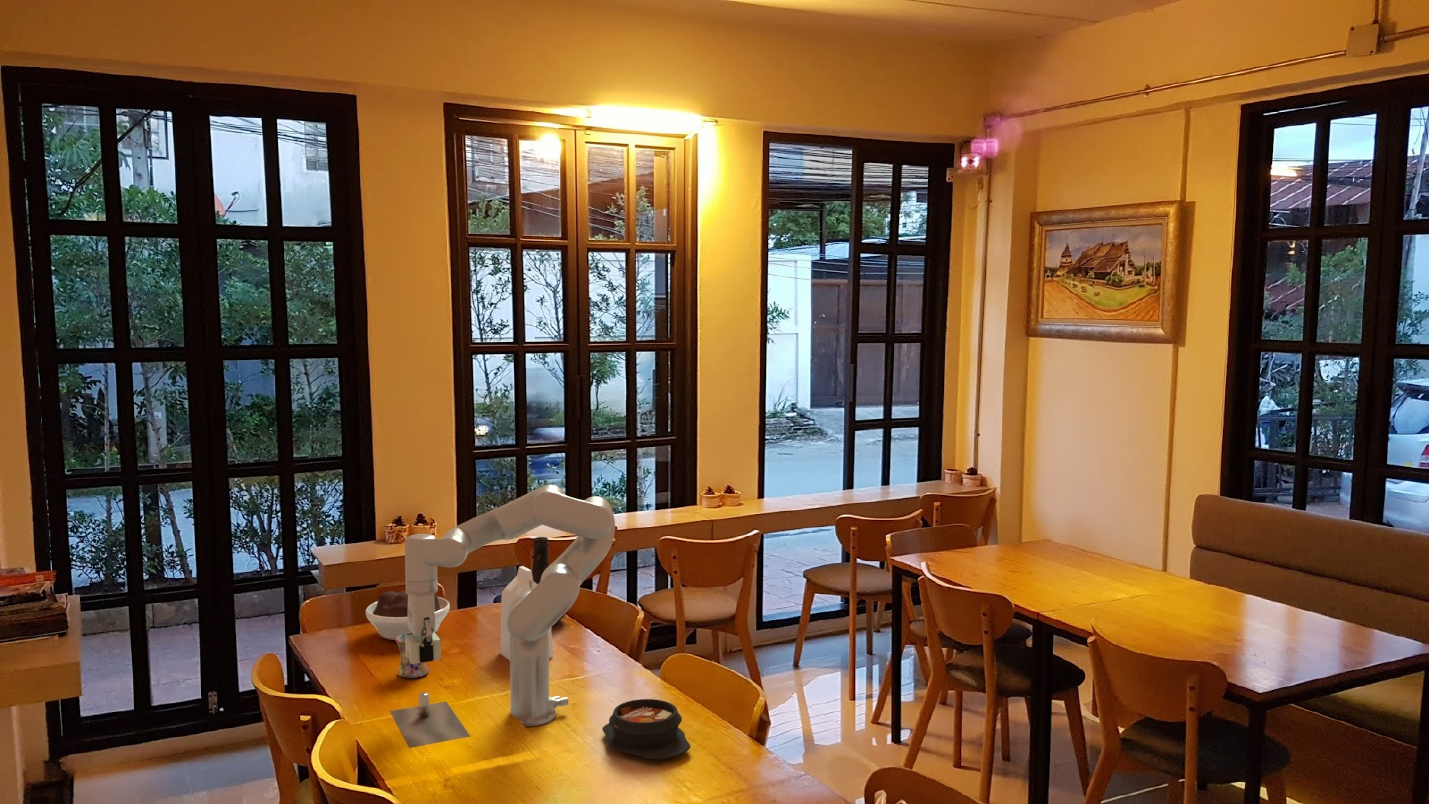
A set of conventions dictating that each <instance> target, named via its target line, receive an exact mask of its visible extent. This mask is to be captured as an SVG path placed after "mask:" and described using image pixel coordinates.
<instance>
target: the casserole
mask: <svg viewBox="0 0 1429 804" xmlns="http://www.w3.org/2000/svg"><path fill="white" fill-rule="evenodd" d="M682 720H683V718H682V715H681V714H680V713H679V711H678V707H676V706H675V704H673V703H672V702H668V701H666V700H661V699H654V698H653V699H652V698H643V699H642V698H640V699H633V700H629V701H625V702H622V703H620V704H618V705H617V706H615V708H614V709H613V712H612V714H611V715H610V717H609V719H608V723H606V724H605V725H604V726H603V727H602V728H601V730H602V732H603V733H604V736H605V742H606V744H607V745H608V746H609V747H610V748H612V749H613V750H616V751H617V752H621V753H623V754H624V753H625V754H629V755H634V756H638V757H641V758H644V759H647V760H653V761H654V760H665V759H669V758H673V757H674V758H675V757H677V756H680V755H682V754H684V753H686V752H687V751H689V750H690V749H691V744H690V743H689V741H688V740H687V738H686V734H685V732H684V731H683V730H682V728H679V726H680V724H681V723H682Z"/></svg>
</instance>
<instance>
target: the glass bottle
mask: <svg viewBox="0 0 1429 804" xmlns="http://www.w3.org/2000/svg"><path fill="white" fill-rule="evenodd" d="M548 540H549V538H548V537H546V536H538V537H534V538H533V542H532V543H531V544H530V545H531V546H533V557H532V568H531V571H532V577H533V581H534V582H535V583H536V584H539V583H540V581H541V576H542V574H543V572H544V571H545V569H546V568H547V567H549V566H550V564H549V552H548V550H549V548H548V547H549V546H550V542H549V541H548ZM568 611H569V609H568V610H567V612H568ZM567 612H566V613H565V614H564V615H563V616H562V617H561V618H560V619H559V620H558V621H557V622H556V623H555V624H557V623H559V622H561V620H562V619H564V617H565V615H566V614H567Z"/></svg>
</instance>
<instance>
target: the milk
mask: <svg viewBox="0 0 1429 804" xmlns="http://www.w3.org/2000/svg"><path fill="white" fill-rule="evenodd" d="M537 585H538V584H536V583H535V582H534V581H533V577H532V569H529V568H527V567H525V566H523V565H521V566H518V569H517V575H516V576H515V577H514V578H513V579H512V580H511V581H510V582H509V583H508V584H507V585H506V587H504V588H503V590H502V592H501V601H500V603H501V606H500V629H499V631H500V634H499V635H500V638H499V654H500V655H501V656H503V657H505V659H506V660H508V661H510V633H509V631H508V627H507V618H508V613H509V608H510V605H511V603H512V601H513V599H514V598H515V597H516V596H517V595H518V594H520V593H522V592H524V591H532V590H533V589H534V588H535V587H536V586H537ZM552 658H554V651H553V639H552V627H551V628H550V629H549V659H552Z"/></svg>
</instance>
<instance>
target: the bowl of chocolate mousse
mask: <svg viewBox="0 0 1429 804" xmlns="http://www.w3.org/2000/svg"><path fill="white" fill-rule="evenodd" d="M434 601H435V602H434V605H435V633H436V632H437V631H438V630H439V628H440V625H441V623H442V621H443V620H444V619H445V617H446V616H447V615H448V614H449V611H450V609H451V607H450V606H451V605H450V601H448V600H447V599H445V598H443V597H440V596H437V593H434ZM365 617H366V618H367V620H368V621H369V622H370V624H371V625H372V626H374V628H375V630H376V631H377V633H378V634H379V636H380V637H382V638H384V639H386V640H391V641H396V637H398V636H400V635H402V634H406V633H412V632H411V630H410V629H409V628H408V624H407V618H408V594H407V593H406V590H403V589H402V590H401V591H398V592H395V591H392V590H389V591H386V592H383V593H381V594H379V596H378V600H377V601H375V602H373V603H371V604H370V605H368V606H367V607H366V609H365ZM425 633H426V632H425Z"/></svg>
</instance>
